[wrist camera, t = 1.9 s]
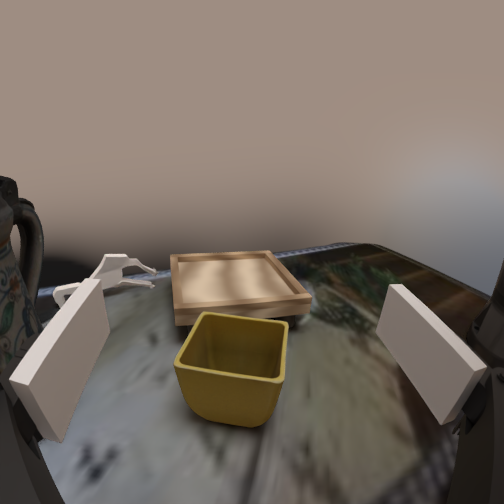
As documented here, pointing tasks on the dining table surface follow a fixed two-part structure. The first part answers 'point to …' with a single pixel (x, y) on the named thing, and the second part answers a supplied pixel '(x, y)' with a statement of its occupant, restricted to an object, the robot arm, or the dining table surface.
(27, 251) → the beer stein
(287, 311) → the plant caddy
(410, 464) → the dining table surface
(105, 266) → the llama figurine
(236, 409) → the flower pot
